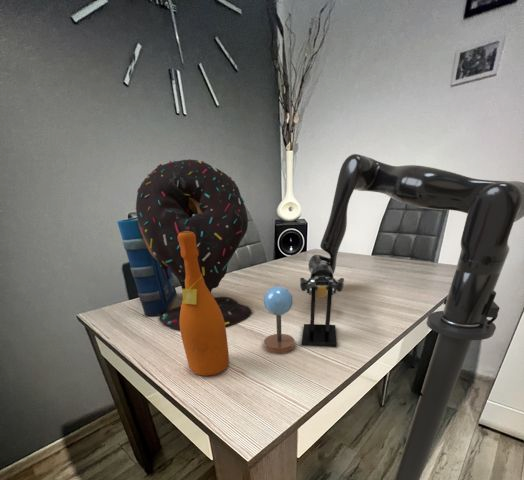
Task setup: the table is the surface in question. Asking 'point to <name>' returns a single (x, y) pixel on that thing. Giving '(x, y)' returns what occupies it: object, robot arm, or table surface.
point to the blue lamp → (278, 319)
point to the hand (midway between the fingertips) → (321, 291)
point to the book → (146, 271)
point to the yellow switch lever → (321, 290)
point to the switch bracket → (319, 332)
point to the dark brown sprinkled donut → (193, 225)
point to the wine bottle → (200, 316)
